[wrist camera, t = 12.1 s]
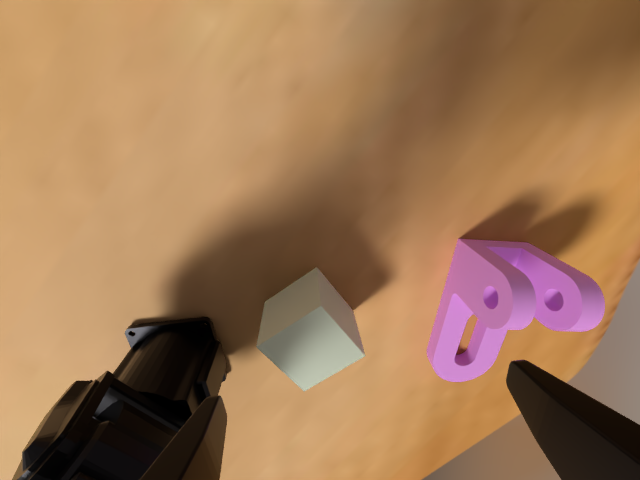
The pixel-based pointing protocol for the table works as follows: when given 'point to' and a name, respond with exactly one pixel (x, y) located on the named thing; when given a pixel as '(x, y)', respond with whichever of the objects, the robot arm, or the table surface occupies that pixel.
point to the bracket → (505, 302)
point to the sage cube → (309, 331)
